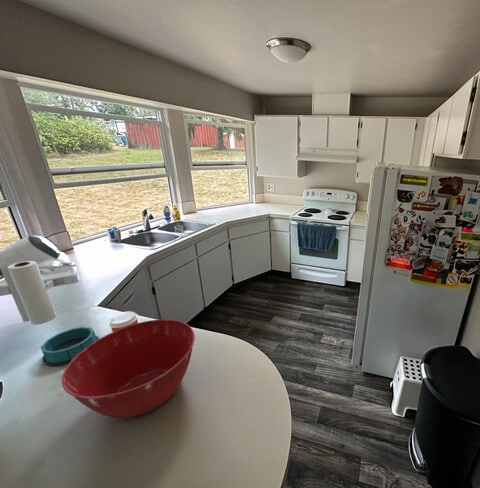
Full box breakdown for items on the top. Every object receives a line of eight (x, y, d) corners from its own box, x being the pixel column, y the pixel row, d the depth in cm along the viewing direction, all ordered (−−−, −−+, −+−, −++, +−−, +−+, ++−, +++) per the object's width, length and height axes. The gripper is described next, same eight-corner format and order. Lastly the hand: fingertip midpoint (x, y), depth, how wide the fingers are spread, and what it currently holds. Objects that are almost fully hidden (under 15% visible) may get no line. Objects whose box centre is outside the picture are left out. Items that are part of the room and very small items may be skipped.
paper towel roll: (61, 316, 89) (40, 261, 82) (39, 326, 84) (15, 269, 76) (46, 312, 91) (25, 258, 84) (23, 322, 85) (-1, 265, 78)
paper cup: (119, 362, 82) (108, 327, 78) (117, 349, 88) (107, 316, 83) (147, 351, 87) (138, 318, 83) (144, 339, 93) (136, 307, 88)
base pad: (48, 373, 77) (43, 361, 76) (39, 353, 85) (33, 341, 83) (105, 347, 88) (101, 336, 87) (92, 331, 96) (88, 320, 94)
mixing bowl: (127, 357, 85) (115, 319, 79) (213, 353, 87) (208, 316, 82) (47, 449, 58) (23, 401, 53) (176, 440, 61) (164, 393, 56)
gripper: (0, 273, 87) (-21, 290, 76) (79, 262, 98) (70, 276, 87) (7, 289, 89) (-13, 308, 78) (84, 276, 100) (76, 292, 89)
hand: (32, 291), depth 83 cm, fingers closed on paper towel roll, 3 cm apart
